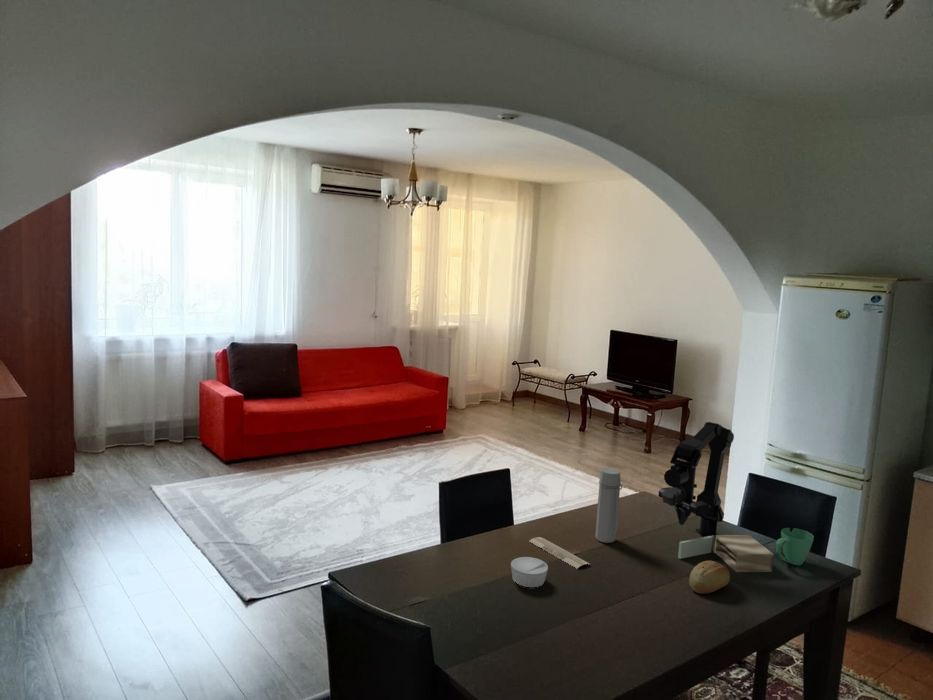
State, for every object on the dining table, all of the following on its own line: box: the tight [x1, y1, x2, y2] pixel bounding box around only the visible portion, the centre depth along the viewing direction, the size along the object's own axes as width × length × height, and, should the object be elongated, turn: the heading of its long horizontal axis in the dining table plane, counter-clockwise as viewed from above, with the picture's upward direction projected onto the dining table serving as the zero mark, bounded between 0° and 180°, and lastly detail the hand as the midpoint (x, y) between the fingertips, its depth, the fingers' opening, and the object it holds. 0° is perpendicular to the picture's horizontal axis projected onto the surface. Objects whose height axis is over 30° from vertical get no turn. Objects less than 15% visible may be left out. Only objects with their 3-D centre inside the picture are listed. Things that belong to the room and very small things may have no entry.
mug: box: [775, 527, 815, 566], centre depth 220 cm, size 15×10×10 cm
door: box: [677, 535, 716, 560], centre depth 223 cm, size 15×1×6 cm, turn 116°
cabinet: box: [713, 534, 774, 573], centre depth 220 cm, size 15×12×6 cm
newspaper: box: [528, 536, 592, 570], centre depth 219 cm, size 24×7×2 cm, turn 35°
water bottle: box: [595, 467, 623, 544], centre depth 230 cm, size 9×8×25 cm
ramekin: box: [510, 556, 549, 588], centre depth 199 cm, size 11×11×5 cm
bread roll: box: [689, 560, 731, 595], centre depth 200 cm, size 10×15×8 cm, turn 129°
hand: (681, 524), depth 225 cm, fingers closed
